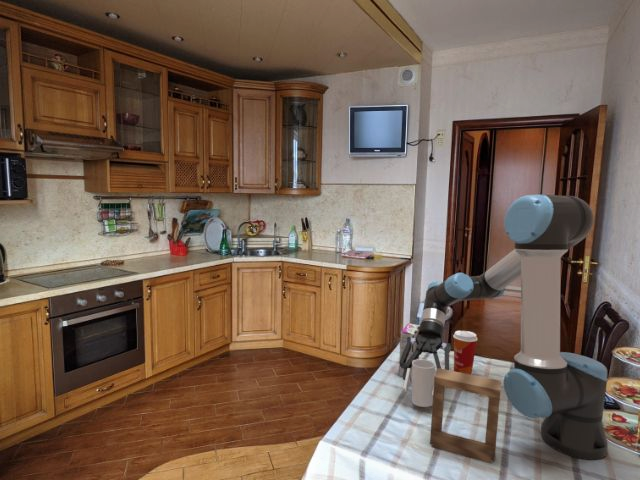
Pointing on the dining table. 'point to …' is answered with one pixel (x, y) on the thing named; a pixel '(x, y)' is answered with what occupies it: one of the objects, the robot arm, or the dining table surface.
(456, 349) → the coffee cup
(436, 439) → the brown wooden frame
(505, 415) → the dining table surface
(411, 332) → the candy bar box
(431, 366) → the mug
